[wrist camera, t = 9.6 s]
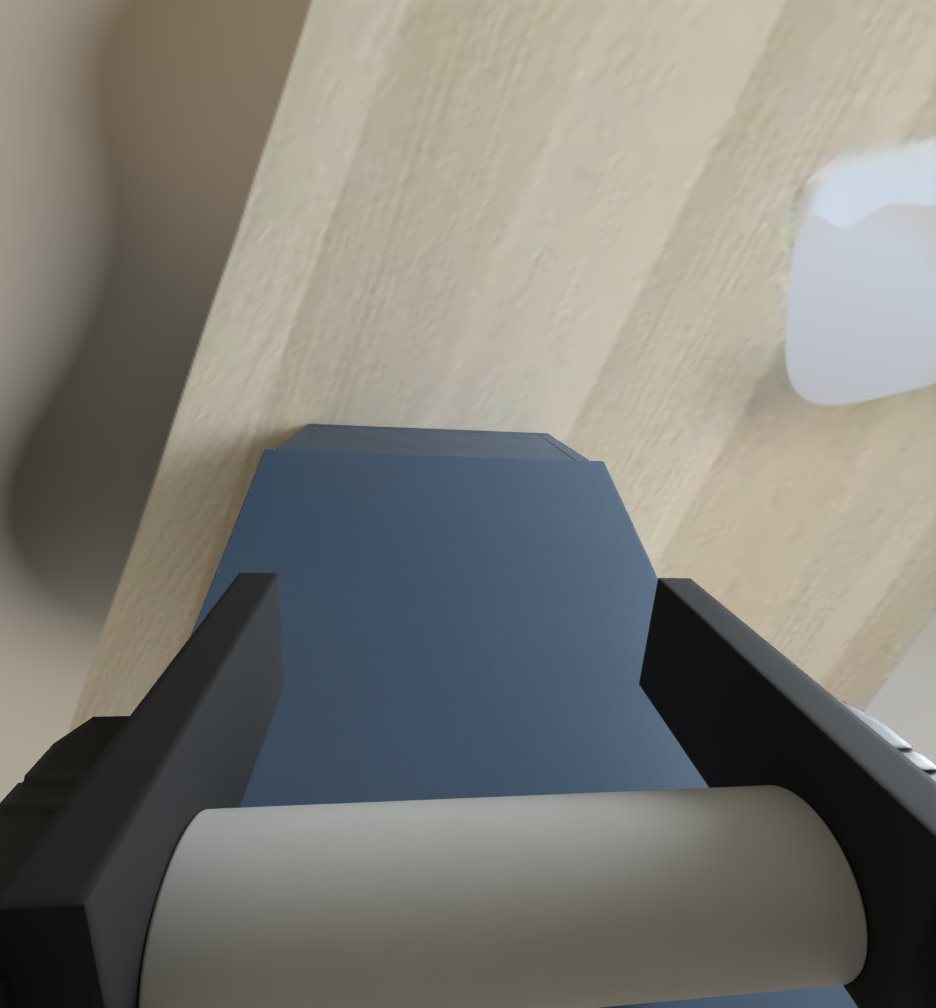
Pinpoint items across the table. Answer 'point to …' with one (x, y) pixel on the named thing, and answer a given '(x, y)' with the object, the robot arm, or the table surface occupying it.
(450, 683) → the lid
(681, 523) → the table surface
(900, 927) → the robot arm
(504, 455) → the chest
